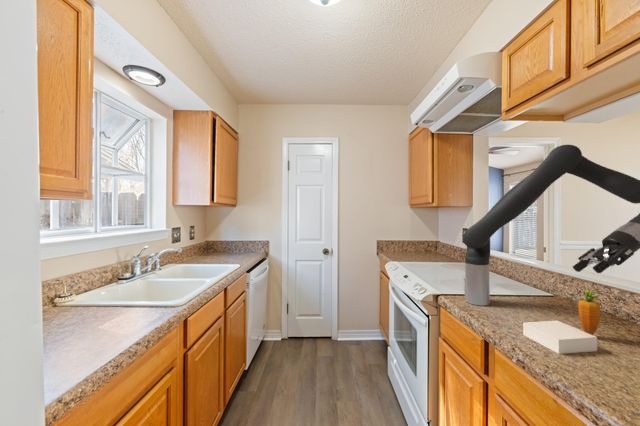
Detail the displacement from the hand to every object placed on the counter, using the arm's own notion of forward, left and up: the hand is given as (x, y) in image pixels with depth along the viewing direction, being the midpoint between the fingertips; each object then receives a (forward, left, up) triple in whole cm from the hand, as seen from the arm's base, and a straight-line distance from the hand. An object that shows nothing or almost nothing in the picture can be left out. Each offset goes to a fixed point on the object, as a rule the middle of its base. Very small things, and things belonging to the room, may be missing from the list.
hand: (585, 270), depth 88 cm
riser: (+3, -13, -21) cm, 25 cm away
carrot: (+1, 0, -21) cm, 21 cm away
